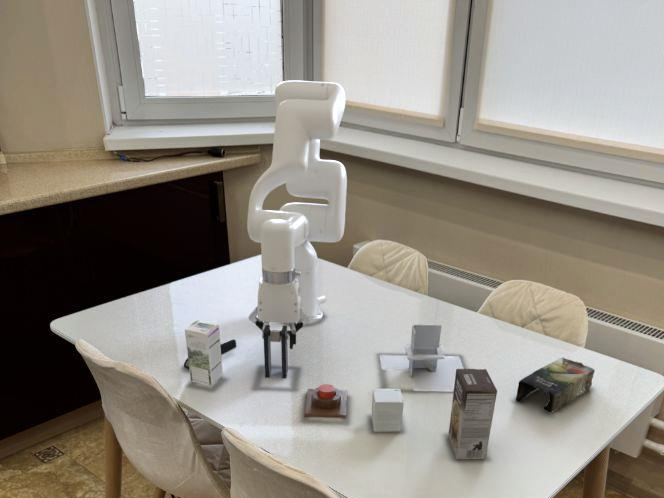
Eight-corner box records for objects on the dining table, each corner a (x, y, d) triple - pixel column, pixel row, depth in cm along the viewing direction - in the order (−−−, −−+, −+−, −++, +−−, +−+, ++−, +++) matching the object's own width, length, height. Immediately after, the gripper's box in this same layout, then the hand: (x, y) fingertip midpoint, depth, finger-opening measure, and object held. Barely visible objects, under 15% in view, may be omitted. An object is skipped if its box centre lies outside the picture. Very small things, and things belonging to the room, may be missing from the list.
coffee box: (446, 435, 147) (455, 367, 138) (476, 435, 147) (486, 367, 139) (455, 460, 139) (464, 390, 130) (486, 459, 140) (498, 390, 131)
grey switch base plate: (472, 391, 163) (478, 347, 157) (384, 390, 162) (387, 345, 156) (459, 356, 179) (464, 314, 173) (379, 354, 178) (382, 312, 172)
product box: (370, 417, 152) (372, 387, 148) (398, 417, 152) (400, 387, 148) (373, 432, 147) (374, 402, 143) (401, 432, 147) (404, 402, 143)
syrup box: (224, 379, 164) (219, 322, 156) (211, 390, 159) (206, 333, 151) (203, 375, 165) (197, 318, 157) (190, 386, 160) (183, 328, 153)
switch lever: (270, 337, 170) (270, 327, 169) (290, 337, 170) (290, 328, 170) (263, 341, 158) (263, 330, 158) (285, 342, 158) (285, 331, 158)
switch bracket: (260, 367, 170) (258, 318, 163) (297, 368, 170) (296, 320, 163) (254, 388, 161) (252, 338, 154) (293, 390, 161) (292, 339, 154)
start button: (318, 390, 154) (318, 383, 153) (334, 391, 154) (335, 384, 153) (317, 398, 151) (317, 391, 150) (334, 399, 151) (334, 392, 150)
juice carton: (557, 373, 173) (562, 351, 169) (593, 388, 167) (599, 365, 164) (513, 401, 160) (517, 378, 157) (550, 418, 155) (555, 394, 151)
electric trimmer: (240, 352, 177) (239, 340, 175) (193, 372, 166) (192, 360, 164) (230, 348, 179) (229, 336, 177) (182, 367, 168) (181, 355, 166)
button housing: (307, 396, 159) (307, 380, 156) (346, 397, 159) (347, 382, 157) (304, 421, 149) (304, 405, 147) (345, 422, 149) (346, 407, 147)
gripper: (315, 271, 164) (315, 341, 174) (244, 268, 164) (247, 338, 173) (314, 282, 158) (313, 354, 167) (239, 279, 157) (243, 351, 167)
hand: (280, 345), depth 170 cm, fingers closed on switch lever, 5 cm apart
